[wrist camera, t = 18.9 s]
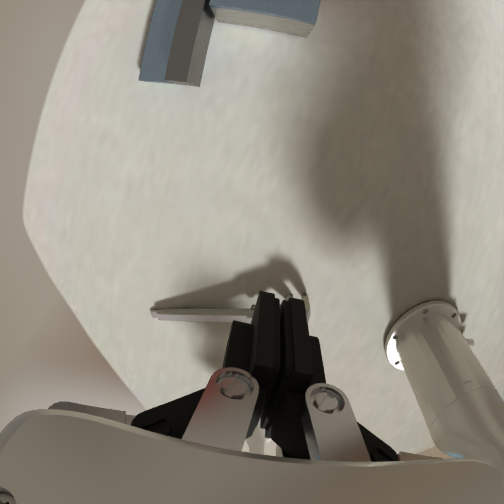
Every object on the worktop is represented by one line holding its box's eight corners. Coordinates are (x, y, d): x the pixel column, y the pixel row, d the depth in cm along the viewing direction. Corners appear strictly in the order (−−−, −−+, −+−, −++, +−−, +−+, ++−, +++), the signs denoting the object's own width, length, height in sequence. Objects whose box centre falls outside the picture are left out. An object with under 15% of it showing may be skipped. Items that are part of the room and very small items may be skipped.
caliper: (306, 290, 39) (313, 321, 34) (307, 297, 40) (313, 329, 34) (150, 308, 41) (136, 338, 36) (153, 315, 42) (139, 345, 36)
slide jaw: (311, 13, 25) (321, -6, 20) (306, 37, 27) (315, 22, 21) (224, -3, 25) (216, -23, 20) (218, 21, 26) (208, 4, 21)
